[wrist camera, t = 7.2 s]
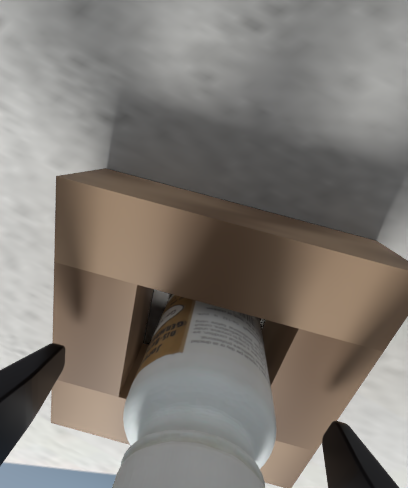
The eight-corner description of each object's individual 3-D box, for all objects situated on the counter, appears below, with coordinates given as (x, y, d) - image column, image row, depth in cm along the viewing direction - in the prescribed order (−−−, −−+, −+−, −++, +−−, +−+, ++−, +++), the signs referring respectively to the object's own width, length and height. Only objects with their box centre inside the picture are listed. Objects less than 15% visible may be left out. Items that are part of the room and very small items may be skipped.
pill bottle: (173, 265, 11) (65, 472, 4) (270, 286, 11) (343, 543, 4) (160, 341, 13) (66, 590, 6) (245, 361, 13) (263, 643, 5)
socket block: (376, 240, 10) (463, 297, 6) (278, 420, 14) (295, 520, 10) (105, 168, 10) (29, 180, 6) (87, 367, 14) (34, 447, 10)
